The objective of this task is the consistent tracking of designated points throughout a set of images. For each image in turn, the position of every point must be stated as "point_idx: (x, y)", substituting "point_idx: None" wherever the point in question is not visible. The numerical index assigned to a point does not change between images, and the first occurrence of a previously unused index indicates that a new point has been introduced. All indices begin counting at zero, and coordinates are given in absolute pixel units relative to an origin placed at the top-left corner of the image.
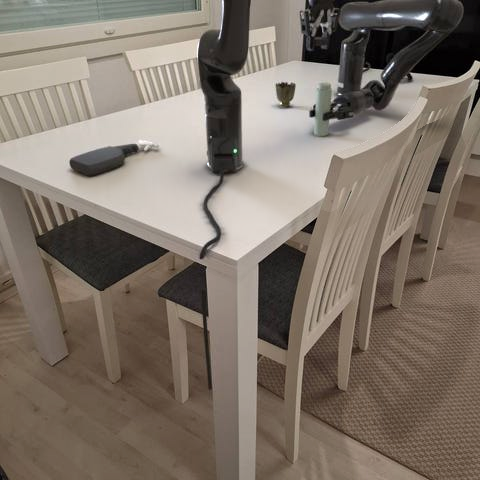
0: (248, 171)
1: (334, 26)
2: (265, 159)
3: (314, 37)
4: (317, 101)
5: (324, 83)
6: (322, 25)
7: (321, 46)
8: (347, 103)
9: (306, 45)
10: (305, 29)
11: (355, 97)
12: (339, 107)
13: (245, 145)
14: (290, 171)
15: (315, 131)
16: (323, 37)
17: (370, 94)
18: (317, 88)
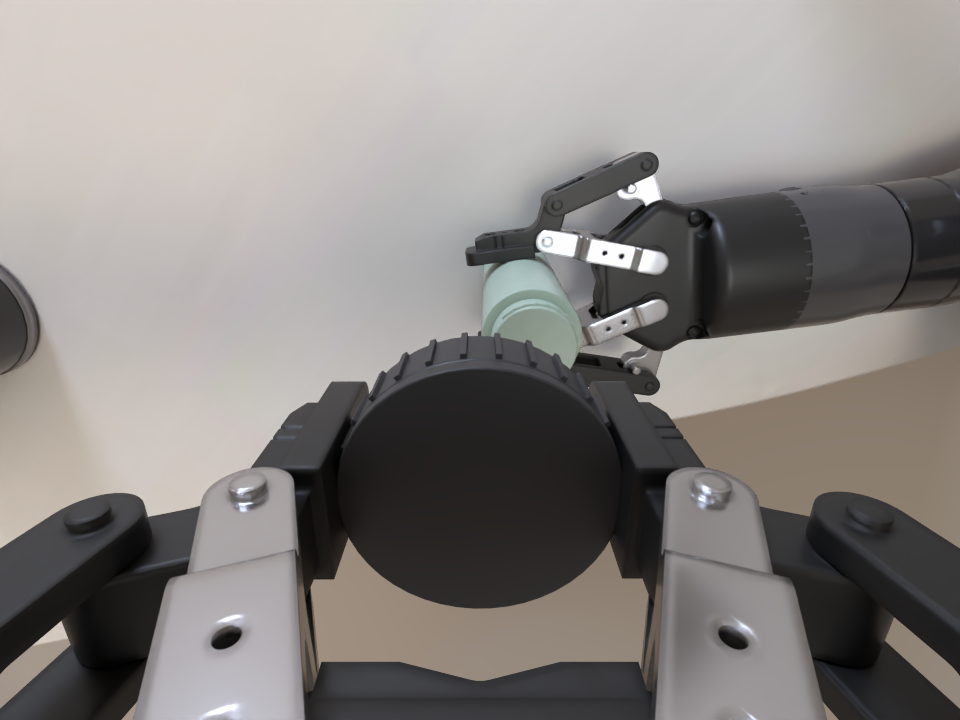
0: (40, 395)
1: (842, 702)
2: (142, 349)
3: (324, 571)
4: (482, 307)
5: (546, 335)
6: (654, 609)
7: (593, 391)
8: (704, 319)
9: (287, 420)
10: (68, 626)
11: (789, 320)
12: (617, 334)
13: (131, 169)
14: (172, 471)
15: (483, 270)
16: (615, 481)
17: (949, 300)
18: (503, 301)
